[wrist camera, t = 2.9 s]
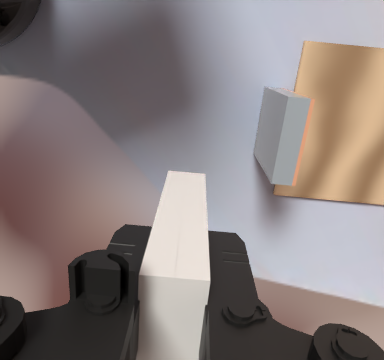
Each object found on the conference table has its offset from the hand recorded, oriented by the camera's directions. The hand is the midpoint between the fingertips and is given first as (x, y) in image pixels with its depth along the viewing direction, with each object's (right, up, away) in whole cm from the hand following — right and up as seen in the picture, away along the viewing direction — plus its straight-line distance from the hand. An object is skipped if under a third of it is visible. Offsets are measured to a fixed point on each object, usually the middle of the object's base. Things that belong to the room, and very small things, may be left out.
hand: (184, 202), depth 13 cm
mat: (+21, +6, +20) cm, 30 cm away
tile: (+8, +7, +20) cm, 23 cm away
